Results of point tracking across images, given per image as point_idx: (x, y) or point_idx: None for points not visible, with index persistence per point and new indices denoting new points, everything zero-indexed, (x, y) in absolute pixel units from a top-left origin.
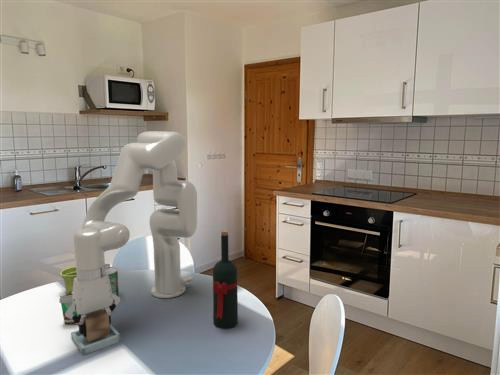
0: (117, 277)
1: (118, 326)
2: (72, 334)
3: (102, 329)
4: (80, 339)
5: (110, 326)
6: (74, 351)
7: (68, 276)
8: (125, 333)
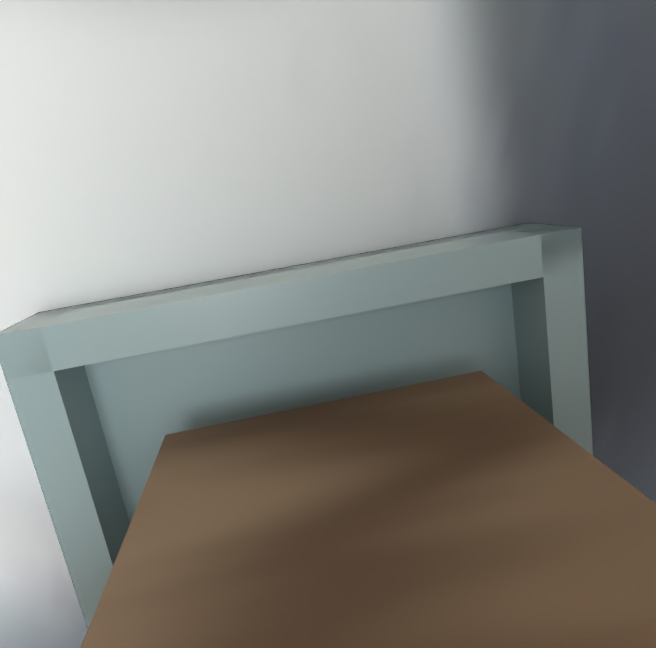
0: None
1: (640, 287)
2: (17, 412)
3: None
4: (149, 444)
5: (568, 430)
6: (76, 612)
7: None
8: (648, 486)
